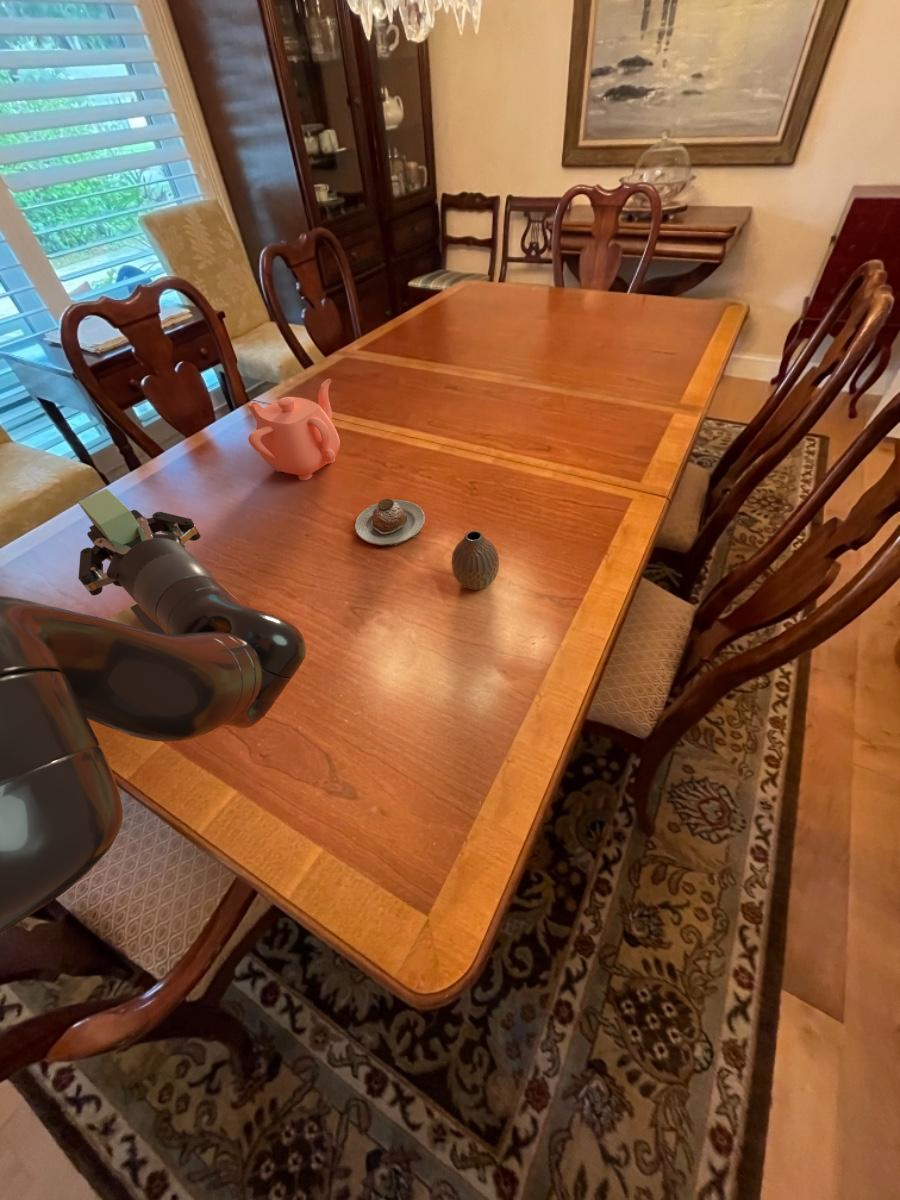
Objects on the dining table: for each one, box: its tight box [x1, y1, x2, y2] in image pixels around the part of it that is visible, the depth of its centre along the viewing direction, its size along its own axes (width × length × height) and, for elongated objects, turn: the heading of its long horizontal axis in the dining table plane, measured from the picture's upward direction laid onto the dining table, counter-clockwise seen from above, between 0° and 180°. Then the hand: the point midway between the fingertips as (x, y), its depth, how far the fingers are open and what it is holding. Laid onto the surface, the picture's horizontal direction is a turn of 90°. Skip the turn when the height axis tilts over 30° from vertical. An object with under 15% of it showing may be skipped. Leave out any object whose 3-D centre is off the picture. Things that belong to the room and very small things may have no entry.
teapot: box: [247, 378, 341, 481], centre depth 103 cm, size 16×17×14 cm
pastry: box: [354, 498, 426, 547], centre depth 90 cm, size 12×12×5 cm
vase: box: [451, 529, 500, 591], centre depth 77 cm, size 7×7×9 cm
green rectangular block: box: [77, 488, 140, 545], centre depth 66 cm, size 4×7×11 cm, turn 45°
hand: (112, 523), depth 66 cm, fingers closed on green rectangular block, 3 cm apart
